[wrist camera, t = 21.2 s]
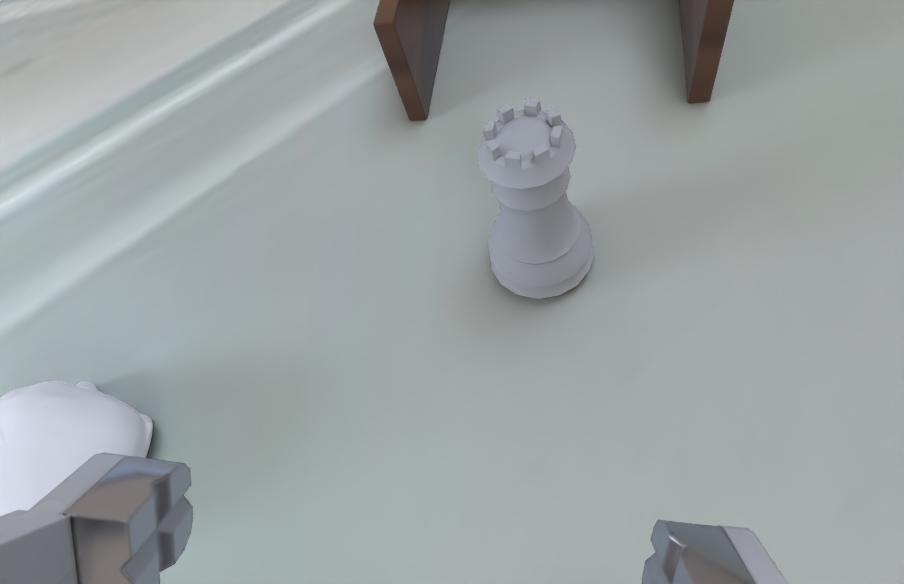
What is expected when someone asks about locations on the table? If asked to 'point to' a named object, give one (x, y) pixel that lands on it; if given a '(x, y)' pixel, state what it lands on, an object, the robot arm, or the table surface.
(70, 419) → the white frog figurine
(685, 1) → the wooden enclosure
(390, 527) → the table surface
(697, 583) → the robot arm
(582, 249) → the rook chess piece
